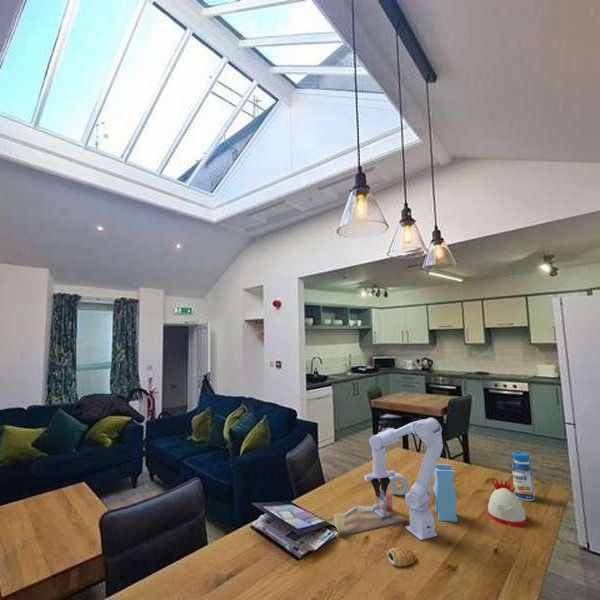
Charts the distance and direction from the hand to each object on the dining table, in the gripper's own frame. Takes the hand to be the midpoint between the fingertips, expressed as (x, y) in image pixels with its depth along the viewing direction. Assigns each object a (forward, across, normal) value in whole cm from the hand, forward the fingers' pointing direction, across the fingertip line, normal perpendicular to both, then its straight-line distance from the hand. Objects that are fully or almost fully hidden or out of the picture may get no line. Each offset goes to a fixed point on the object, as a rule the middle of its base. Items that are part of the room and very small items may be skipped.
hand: (380, 495), depth 149 cm
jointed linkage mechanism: (+8, +9, +2) cm, 12 cm away
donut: (+8, -19, -14) cm, 25 cm away
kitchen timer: (+8, -48, +21) cm, 53 cm away
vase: (+8, -25, +11) cm, 29 cm away
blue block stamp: (+8, 0, 0) cm, 8 cm away
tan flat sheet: (+8, +9, +2) cm, 12 cm away
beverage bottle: (+8, -72, +11) cm, 73 cm away
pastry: (+9, +11, +28) cm, 32 cm away
